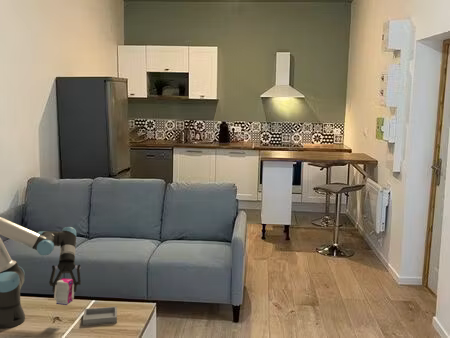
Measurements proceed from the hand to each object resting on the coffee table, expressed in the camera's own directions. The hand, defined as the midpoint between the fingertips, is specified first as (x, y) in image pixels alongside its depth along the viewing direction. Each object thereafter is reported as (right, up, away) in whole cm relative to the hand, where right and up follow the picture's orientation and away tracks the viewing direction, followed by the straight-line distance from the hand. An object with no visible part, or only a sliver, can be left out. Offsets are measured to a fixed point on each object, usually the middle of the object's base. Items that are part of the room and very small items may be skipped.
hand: (63, 298), depth 233 cm
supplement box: (-1, -3, +4) cm, 5 cm away
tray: (+15, -12, +9) cm, 22 cm away
